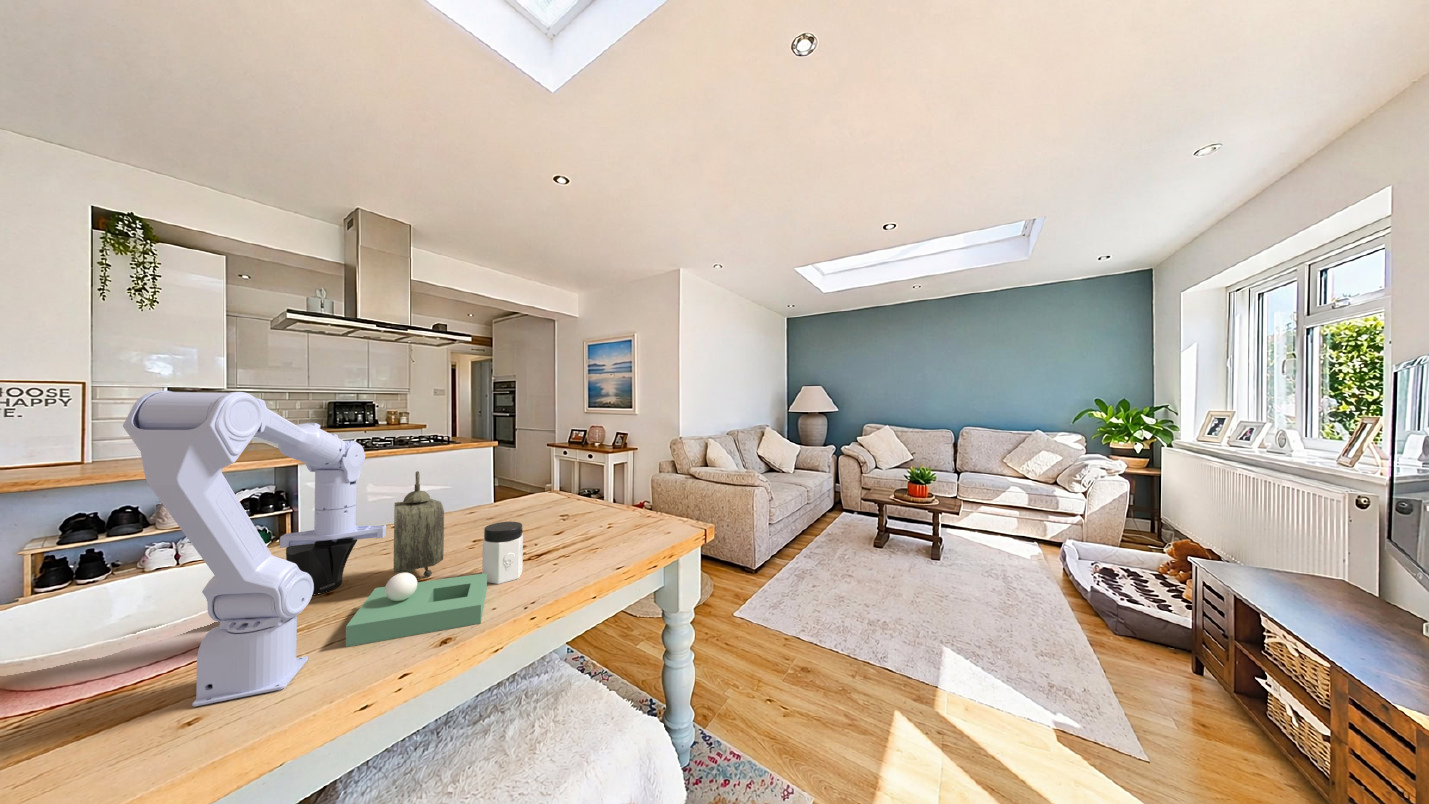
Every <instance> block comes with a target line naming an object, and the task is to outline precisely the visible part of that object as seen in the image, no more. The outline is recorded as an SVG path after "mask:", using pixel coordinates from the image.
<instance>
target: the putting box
mask: <svg viewBox="0 0 1429 804" xmlns="http://www.w3.org/2000/svg"><path fill="white" fill-rule="evenodd" d="M385 587H386V586H380V587H375V588H374V589H373V590H372V592H371V593H370V595H369V596H368V597H367V598H366V599H365V601H364V602H363V604H362V605H361V606H360V608H358V610H357V611H356V612H355V614H354V615H353V617H352V618H351V619H350V620H349V622H348V623H347V624H346V626H345V647H346V648H348V647H354V646H359V645H366V644H371V643H377V642H382V641H383V642H384V641H387V640H388V641H389V640H394V639H399V638H406V637H411V636H416V635H422V634H428V633H433V632H439V631H446V630H451V629H455V628H463V627H468V626H474V625H479V624H481V623H482V617H483V611H484V607H485V601H486V597H487V596H486V595H487V592H488V591H487V590H488V589H487V588H488V582H487V573H484V574H482V573H477V574H476V573H475V574H470V575H463V576H454V577H448V578H439V579H434V580H433V579H432V580H425V581H424V580H423V581H417V588H416V590H415V592H414V593H413V594H412V595H411V596H410V597H409V598H407V599H405V600H402V601H393V600H391V599H389V598H388V597H387V596H386V593H385Z"/></svg>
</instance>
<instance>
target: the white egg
mask: <svg viewBox="0 0 1429 804" xmlns="http://www.w3.org/2000/svg"><path fill="white" fill-rule="evenodd" d="M417 582H418V580H417V577H416V576H415V575H414V574H413V573H411V574H410V573H407V572H405V573H399V572H398V573H397V574H395V575H394V576H392V577H390V578H389V579H388V581H387V582H386V584H385V586H384V587H385V593H386V596H387V597H388V598H389V599H391V600H393V601H402V600H405V599H407V598H409V597H410V596H411V595H412V594H413V593H414V592H415V590H416V588H417Z"/></svg>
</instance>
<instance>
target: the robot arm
mask: <svg viewBox="0 0 1429 804" xmlns="http://www.w3.org/2000/svg"><path fill="white" fill-rule="evenodd" d="M122 428H123V429H124V431H125V432H126V433H127V434H128V436H129V437H130V439H131V440H132V441H133V443H134V444H135V447H136V448H138V450H139V452H140V455H141V462H142V467H143V474H144V478H145V481H146V483H147V484H148V486H149V487H150V489H151V490H152V491H153V493H154V494H155V496H156V497H157V498H158V501H160V502H161V504H162V505H163V506H164V508H165V509H166V511H167V512H168V513H169V515H170V516H171V518H172V519H173V520H174V522H175V523H176V525H177V526H178V527H179V528H180V529H181V531H182V532H183V534H184V535H185V536H186V538H187V540H188V541H189V542H190V544H191V545H192V546H193V548H194V550H196V552H197V553H198V555H199V556H200V557H201V559H202V560H203V562H204V563H205V564H206V565H207V566H208V568H209V570H211V572H212V574H213V576H212V577H211V578H210V579H209V580H208V582H207V584H206V585H205V586H204V588H203V589H202V591H201V593H202V594H203V596H204V597H205V598H206V602H207V613H208V616H209V618H210V619H212V620H213V621H215V622H219V625H217V626H216V627H213V628H211V629H210V630H209V631H208V632H207V633H206V634H205V636H203V638H202V641H201V642H200V644H199V647H198V651H197V656H196V658H197V659H196V694H195V696H196V699H195V700H194V701H193V702H192V707H198V706H203V705H209V704H213V703H218V702H223V701H229V700H235V699H238V698H239V699H240V698H244V697H249V696H254V695H260V694H264V693H270V692H274V691H280V690H283V689H285V688H286V687H287V686H288V685H289V684H290V683H291V681H292V680H293V679H294V677H295V676H296V675H297V674H298V672H299V671H300V670H301V669H302V668H303V666H304V665H305V664H306V663H307V661H309V656H307V655H306V656H301V657H297V643H298V642H297V641H298V640H297V637H298V636H297V635H298V633H297V631H298V629H297V628H298V615H299V614H300V613H302V612H303V611H304V609H305V608H306V607H307V606H308V605H309V603H310V601H312V600H311V599H312V597H313V596H312V595H313V590H314V584H313V580H312V578H311V576H310V575H309V574H308V573H306V572H303V571H301V570H300V569H299V568H298V566H297V564H295V563H292V562H290V561H287V560H286V559H285V558H280V557H278V556H275V555H273V554H272V552H271V551H270V550H269V547H268V546H267V544H266V543H265V541H264V539H263V538H262V537H261V534H260V533H259V531H258V530H257V527H256V526H255V524H254V523H253V521H252V520H251V518H250V517H249V515H248V513H247V512H246V510H245V509H244V507H243V505H242V504H241V502H240V500H239V498H238V497H237V495H236V494H235V492H234V491H233V489H232V487H231V486H230V484H229V482H228V481H227V479H226V477H225V476H224V474H223V472H222V471H223V469H224V468H226V467H228V466H230V465H232V464H235V463H236V461H237V460H238V459H239V457H240V456H241V455H242V453H243V452H244V451H245V449H246V447H247V446H248V445H249V443H251V441H252V440H253V438H254V437H255V438H258V439H261V440H264V441H267V442H270V443H274V444H276V445H277V448H278V450H279V452H280V453H281V454H282V455H283V456H286V457H289V458H292V459H294V460H297V461H299V462H302V463H305V466H306V468H307V469H308V471H309V472H311V473H313V472H314V527H313V528H314V529H312V530H304V531H298V532H297V531H296V532H290V533H288V532H287V533H285V534H283V535H281V536H279V549H280V548H282V549H283V548H287V547H289V546H293V545H304V544H314V543H315V546H314V548H313V549H312V553H313V554H314V555H315V557H316V558H317V559H318V560H319V562H320V563H321V565H322V567H323V569H324V571H325V574H326V577H327V580H328V584H331V583H338V582H339V581H340V580H341V579H342V580H343V575H344V572H345V571H344V570H345V567H346V564H347V562H348V560H349V557H350V555H351V553H352V551H353V549H354V547H355V545H356V543H357V541H359V540H365V539H384V538H385V537H386V535H387V525H386V524H383V525H382V524H381V525H357V504H358V503H357V497H358V495H357V493H358V491H357V490H358V488H357V487H358V486H357V485H358V481H359V480H360V478H361V476H362V468H363V465H364V463H365V462H366V461H365V460H366V453H365V449H364V447H363V446H362V445H361V444H360V443H358V442H357V441H355V440H343V439H342V438H339V435H338V434H336V433H330V432H327V431H325V430H323V429H321V424H319V423H316V422H306V423H298V424H295V423H293V422H292V421H289V420H288V419H286V418H285V417H283V416H281V415H279V414H278V413H277V412H274V411H273V410H272V409H270V408H267V403H266V401H265V399H260V398H257V397H255V396H253V395H252V394H251V393H247V392H245V391H244V392H243V391H233V392H202V391H201V392H195V391H193V392H191V391H190V392H189V391H171V390H154V391H150V392H147V393H145V394H143V395H142V396H140V397H139V398H138V399H137V400H136V401H135V403H133V405H132V407H131V409H130V411H129V413H128V415H127V417H126V419H125V421H124V422H123V424H122Z"/></svg>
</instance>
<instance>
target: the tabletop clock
mask: <svg viewBox="0 0 1429 804" xmlns="http://www.w3.org/2000/svg"><path fill="white" fill-rule="evenodd" d="M420 477H421V476H420V471H416V472H415V484H414V491H410V492H408V494H407V495H405V497H404V499H403V501H398V502H394V510H393V511H394V514H393V515H394V518H393V526H394V528H393V574H396V573H397V574H399V573H404V572H405V573H410V574H413V572H415V571H416V570H417V569H418V570H419V569H424V572H423V576H424V577H425V578H428V577H429V578H430V576H432V574H433V571H432V570H431V569H429V567H434V566H435V565H437V564H439V563H440V562H442V561H443V560H444V549H445V548H444V546H445V545H444V543H445V542H444V541H445V540H444V538H445V510H444V506H443V503H442V501H439V500H436V499H433V498H431V496H430V494H429V493H428V492H427V491H424V490H421V484H420V479H421V478H420Z"/></svg>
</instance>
